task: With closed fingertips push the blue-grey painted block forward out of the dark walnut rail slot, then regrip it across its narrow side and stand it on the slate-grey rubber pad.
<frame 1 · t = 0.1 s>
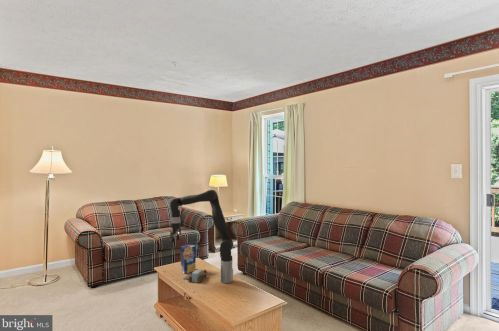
hand: (175, 241, 254), 29 cm above the table, fingers open, 8 cm apart
beverage box: (188, 271, 266), on the table
block: (196, 280, 245), on the table
pad: (190, 277, 251), on the table
rack: (197, 279, 247), on the table
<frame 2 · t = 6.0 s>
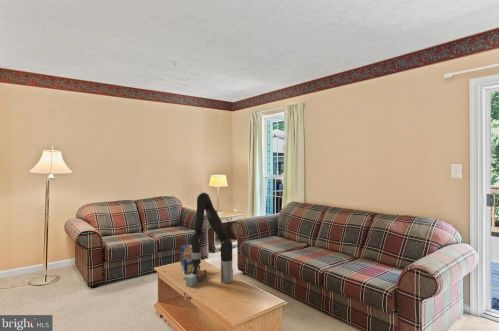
hand: (195, 279, 244), 2 cm above the table, fingers closed
block: (191, 284, 236), on the table, touching hand
everything else where it was.
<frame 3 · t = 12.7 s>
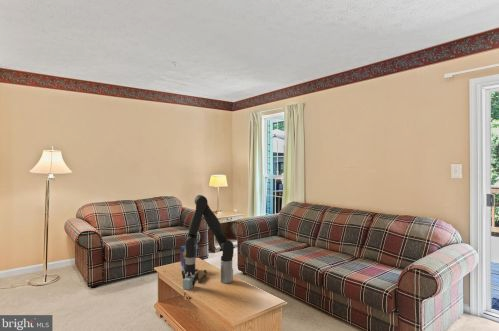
hand: (190, 284, 233), 1 cm above the table, fingers closed on block, 5 cm apart
block: (188, 287, 231), on the table, touching gripper
everything else where it was.
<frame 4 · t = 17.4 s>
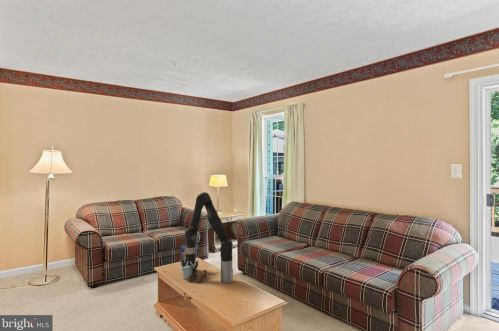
hand: (189, 272, 250), 4 cm above the table, fingers closed on block, 5 cm apart
block: (188, 274, 248), point 4 cm above the table, tilted 10°, touching gripper, rack
everything else where it was.
when the fingers open (4 cm above the table, at t = 17.8 s): block drops 3 cm, resting on pad.
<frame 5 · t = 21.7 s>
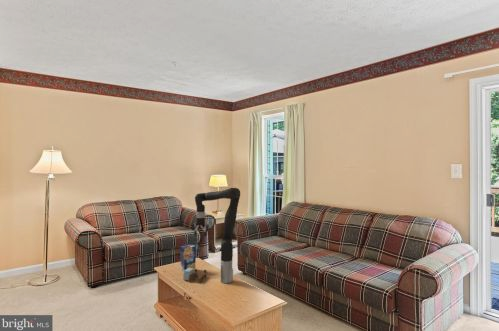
hand: (200, 235, 257), 33 cm above the table, fingers open, 8 cm apart
block: (188, 278, 248), point 1 cm above the table, touching pad
everything else where it was.
at the end: block inside the target area on the pad (2.9 cm from its centre), point 0.6 cm above the pad's base; block tilted 0°; the gripper is holding nothing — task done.
